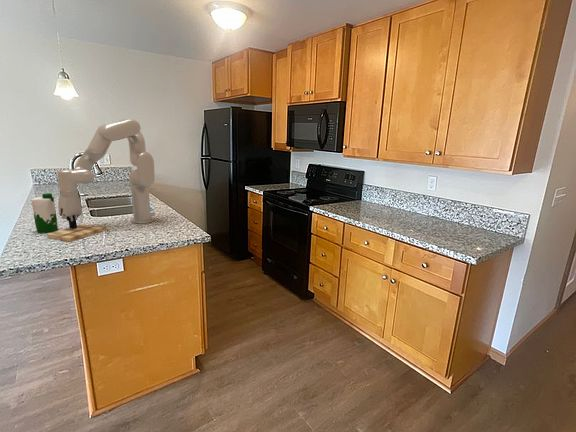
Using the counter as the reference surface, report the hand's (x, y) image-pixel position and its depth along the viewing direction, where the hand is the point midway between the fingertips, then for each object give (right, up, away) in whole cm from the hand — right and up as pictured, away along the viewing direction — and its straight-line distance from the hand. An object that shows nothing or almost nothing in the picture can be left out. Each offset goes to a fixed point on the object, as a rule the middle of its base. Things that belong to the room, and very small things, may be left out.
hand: (73, 227), depth 168 cm
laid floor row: (+8, -4, -4) cm, 10 cm away
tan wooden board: (+1, -3, -2) cm, 3 cm away
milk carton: (-14, -2, +1) cm, 15 cm away
